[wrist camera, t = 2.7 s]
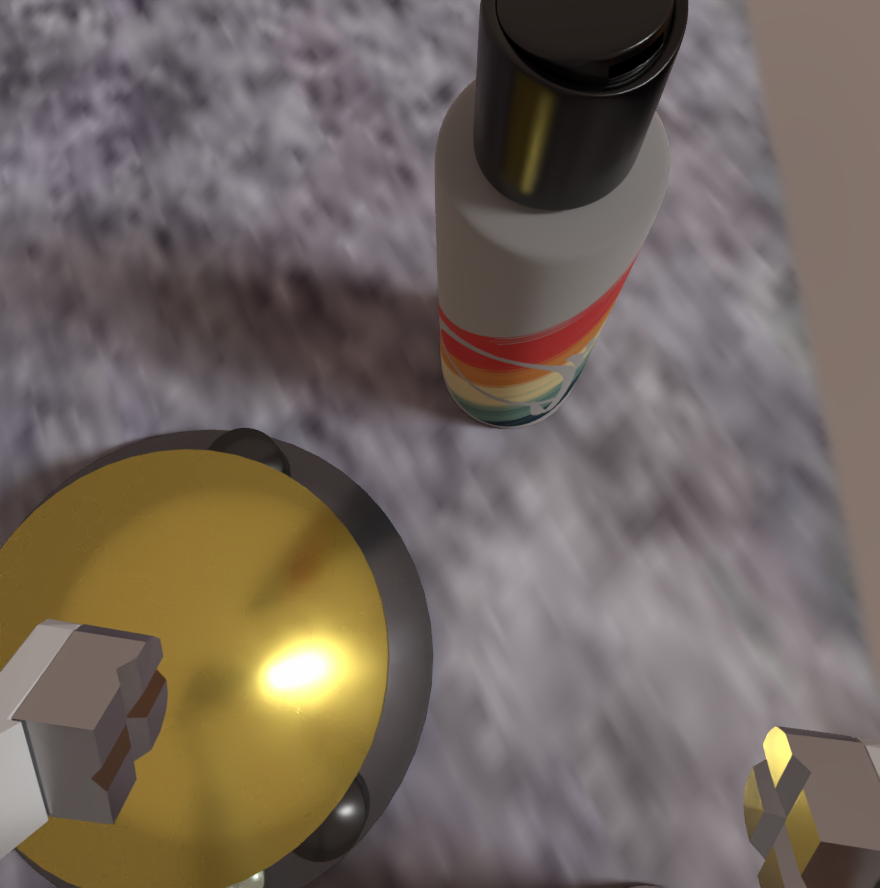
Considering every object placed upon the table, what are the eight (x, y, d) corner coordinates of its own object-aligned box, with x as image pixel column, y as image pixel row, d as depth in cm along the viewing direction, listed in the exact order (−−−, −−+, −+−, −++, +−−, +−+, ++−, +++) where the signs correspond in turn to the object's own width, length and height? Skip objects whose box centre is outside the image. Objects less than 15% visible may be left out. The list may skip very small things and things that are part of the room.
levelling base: (490, 833, 29) (495, 858, 26) (2, 983, 28) (-57, 1028, 25) (367, 384, 33) (358, 356, 30) (-60, 500, 32) (-118, 484, 29)
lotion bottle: (492, 458, 32) (556, 183, 13) (414, 351, 34) (365, -47, 14) (603, 382, 33) (818, 15, 14) (522, 280, 34) (617, -191, 15)
